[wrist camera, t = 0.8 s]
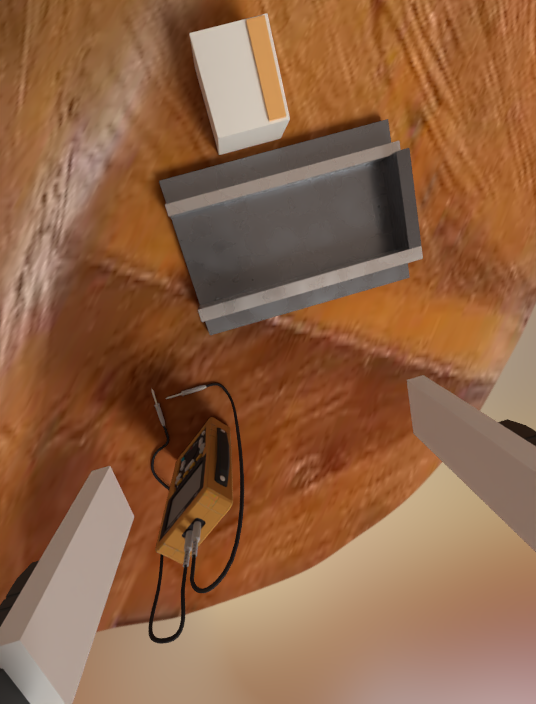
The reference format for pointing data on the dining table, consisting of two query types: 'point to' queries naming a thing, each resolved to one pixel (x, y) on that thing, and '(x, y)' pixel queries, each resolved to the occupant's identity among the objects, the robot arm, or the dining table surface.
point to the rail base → (296, 225)
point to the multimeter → (197, 500)
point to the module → (240, 83)
